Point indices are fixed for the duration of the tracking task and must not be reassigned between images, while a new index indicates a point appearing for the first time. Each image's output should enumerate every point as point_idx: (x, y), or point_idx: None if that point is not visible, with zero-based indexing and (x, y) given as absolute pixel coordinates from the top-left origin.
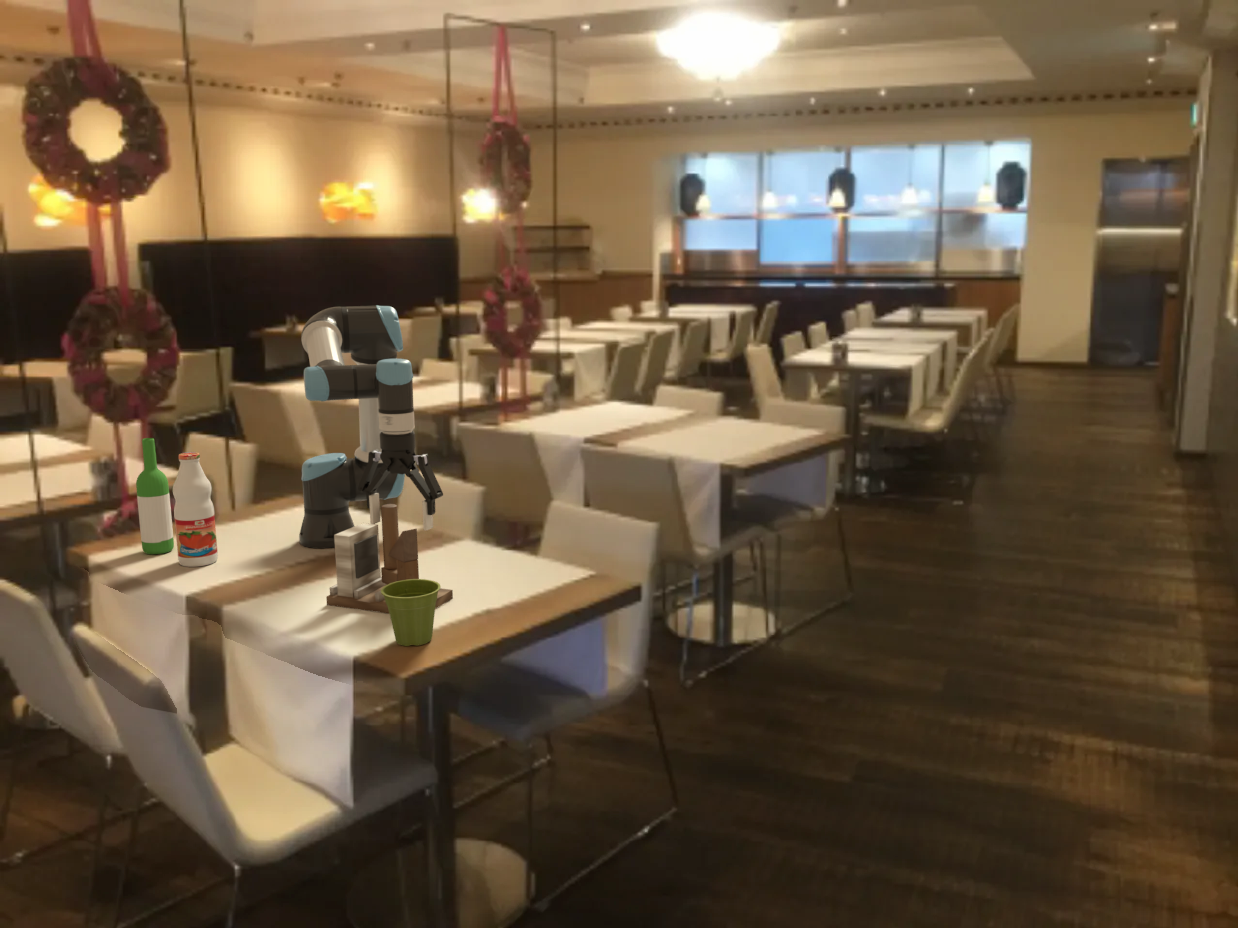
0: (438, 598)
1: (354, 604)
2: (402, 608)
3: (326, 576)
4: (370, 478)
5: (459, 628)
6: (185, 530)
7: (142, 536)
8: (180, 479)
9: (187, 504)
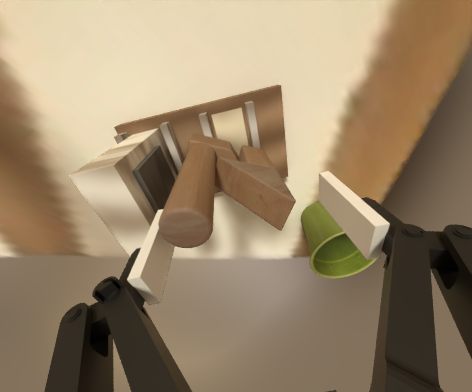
0: (284, 130)
1: None
2: (341, 261)
3: (22, 120)
4: (93, 368)
5: (345, 169)
6: None
7: None
8: None
9: None
